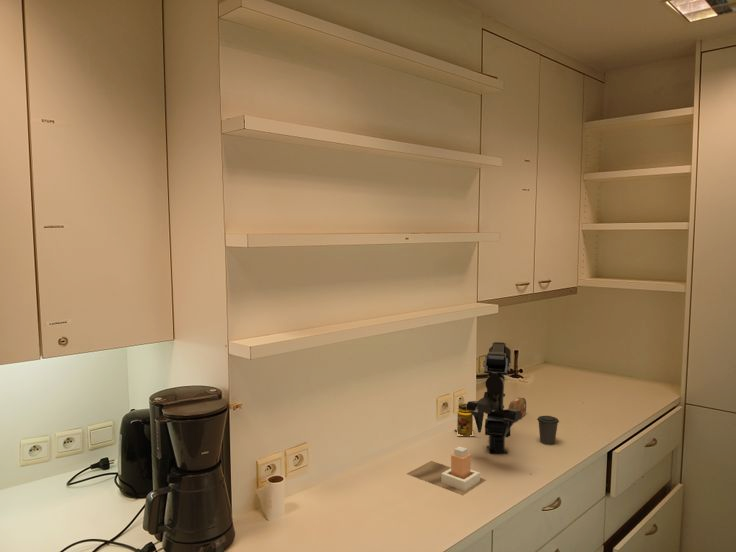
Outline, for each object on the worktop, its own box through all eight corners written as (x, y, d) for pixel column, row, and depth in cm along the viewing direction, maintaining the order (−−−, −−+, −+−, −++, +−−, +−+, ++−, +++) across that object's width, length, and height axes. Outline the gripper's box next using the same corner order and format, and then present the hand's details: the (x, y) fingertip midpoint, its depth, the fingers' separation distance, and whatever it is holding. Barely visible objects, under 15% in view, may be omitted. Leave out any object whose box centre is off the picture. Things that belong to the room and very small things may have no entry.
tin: (513, 423, 229) (514, 404, 229) (506, 422, 231) (507, 403, 231) (526, 414, 241) (527, 396, 241) (520, 412, 243) (520, 394, 243)
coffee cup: (560, 447, 204) (560, 421, 203) (537, 445, 205) (538, 420, 205) (557, 439, 212) (557, 414, 211) (535, 437, 213) (536, 413, 212)
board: (406, 477, 179) (406, 473, 178) (431, 464, 189) (431, 460, 189) (462, 499, 164) (462, 495, 164) (486, 483, 174) (486, 479, 174)
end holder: (441, 482, 172) (441, 473, 172) (456, 473, 179) (456, 464, 178) (464, 491, 166) (465, 481, 166) (479, 481, 173) (479, 472, 172)
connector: (450, 482, 172) (451, 449, 171) (458, 477, 175) (458, 445, 175) (462, 486, 169) (463, 452, 168) (470, 481, 172) (470, 448, 172)
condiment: (457, 437, 214) (457, 407, 213) (454, 429, 222) (454, 401, 222) (475, 437, 214) (476, 407, 213) (471, 429, 222) (472, 401, 222)
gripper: (459, 386, 186) (455, 431, 185) (509, 395, 174) (505, 444, 173) (476, 385, 195) (472, 428, 194) (524, 394, 182) (520, 440, 181)
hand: (491, 435), depth 185 cm, fingers open, 9 cm apart
